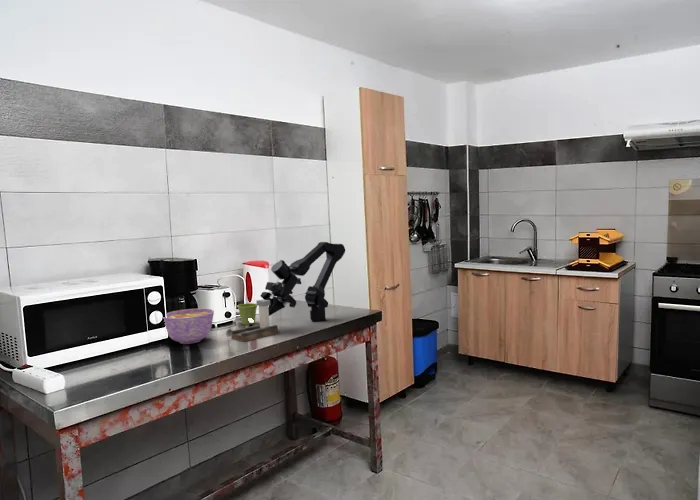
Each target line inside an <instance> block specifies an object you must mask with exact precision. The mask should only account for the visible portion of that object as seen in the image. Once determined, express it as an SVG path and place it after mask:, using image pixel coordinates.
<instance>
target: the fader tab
mask: <svg viewBox="0 0 700 500" xmlns="http://www.w3.org/2000/svg"><path fill="white" fill-rule="evenodd" d="M255 304H257V307H258V316H259V317H258V318H259V325H260V328H265V327H270V316H269V309H268V307H269V305H270V300H264V299H263V298H262V299H257V300H256V303H255Z"/></svg>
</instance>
